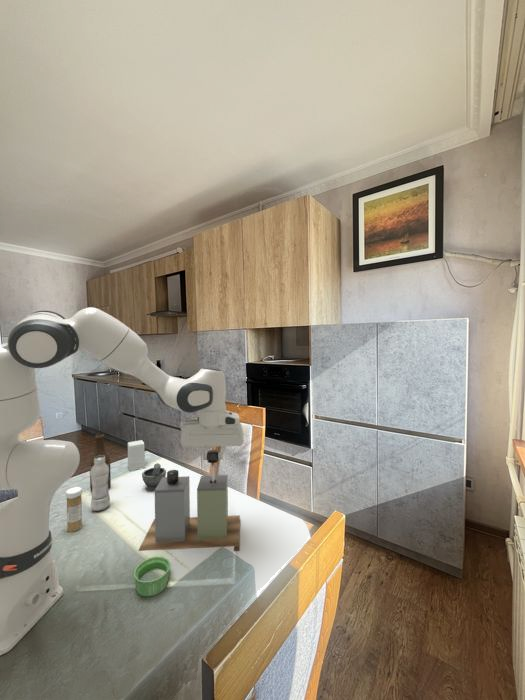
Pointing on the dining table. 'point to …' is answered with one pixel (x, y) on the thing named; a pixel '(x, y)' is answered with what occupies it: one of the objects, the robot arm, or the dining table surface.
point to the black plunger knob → (212, 461)
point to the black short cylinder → (172, 477)
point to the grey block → (172, 510)
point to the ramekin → (155, 585)
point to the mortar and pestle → (153, 476)
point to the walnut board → (194, 537)
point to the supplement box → (136, 455)
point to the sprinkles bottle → (74, 509)
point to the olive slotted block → (212, 507)
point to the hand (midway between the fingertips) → (212, 459)
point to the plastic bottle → (99, 484)
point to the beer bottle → (99, 451)
